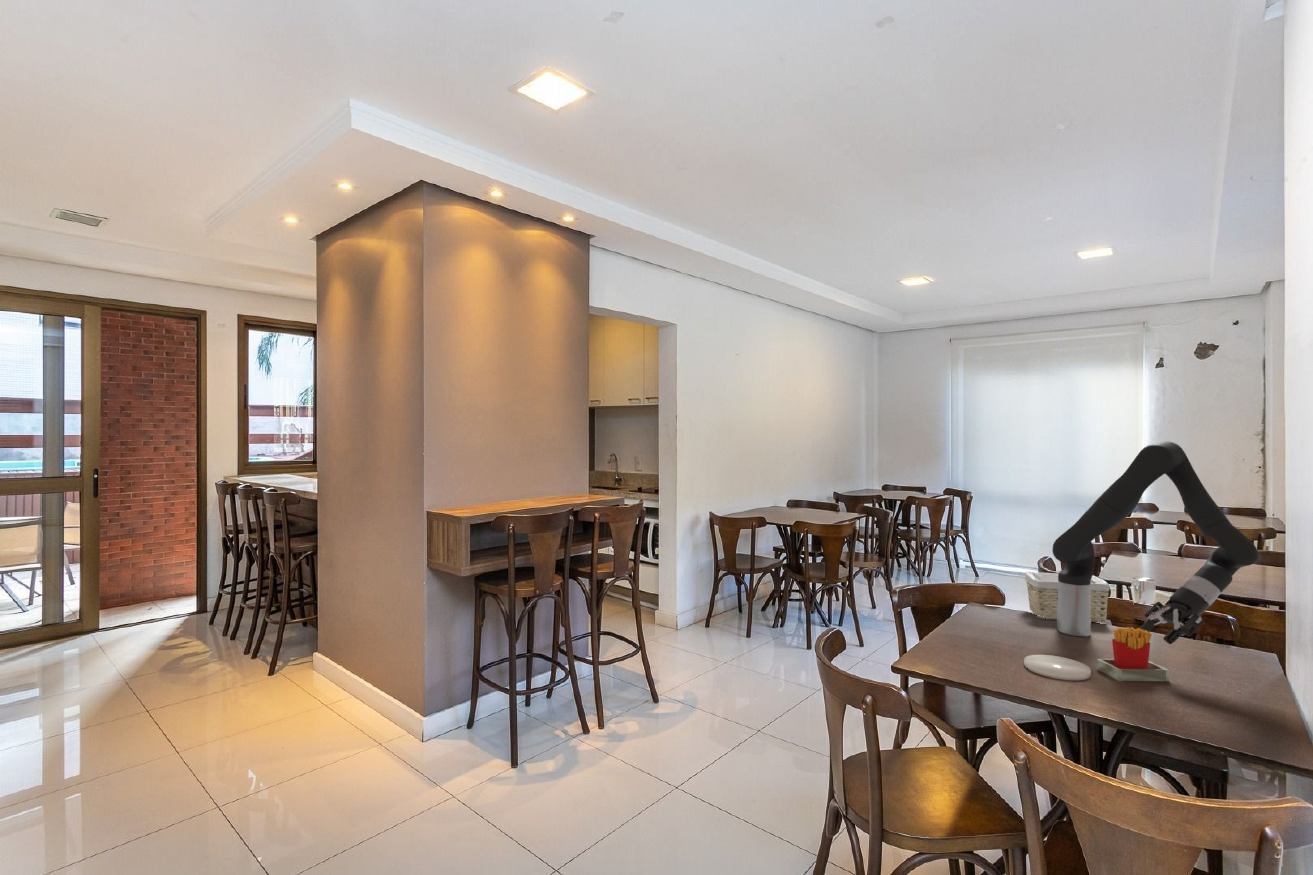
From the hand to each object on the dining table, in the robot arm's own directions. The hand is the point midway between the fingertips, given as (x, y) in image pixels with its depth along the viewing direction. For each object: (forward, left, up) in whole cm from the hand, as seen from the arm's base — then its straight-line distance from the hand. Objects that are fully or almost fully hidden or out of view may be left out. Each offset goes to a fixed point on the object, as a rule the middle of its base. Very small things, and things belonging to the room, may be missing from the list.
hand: (1154, 636), depth 173 cm
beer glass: (-53, +38, -11) cm, 66 cm away
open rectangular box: (0, -6, -11) cm, 12 cm away
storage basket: (-58, +13, -11) cm, 61 cm away
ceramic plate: (-4, -25, -11) cm, 27 cm away
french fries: (0, -6, -11) cm, 13 cm away
